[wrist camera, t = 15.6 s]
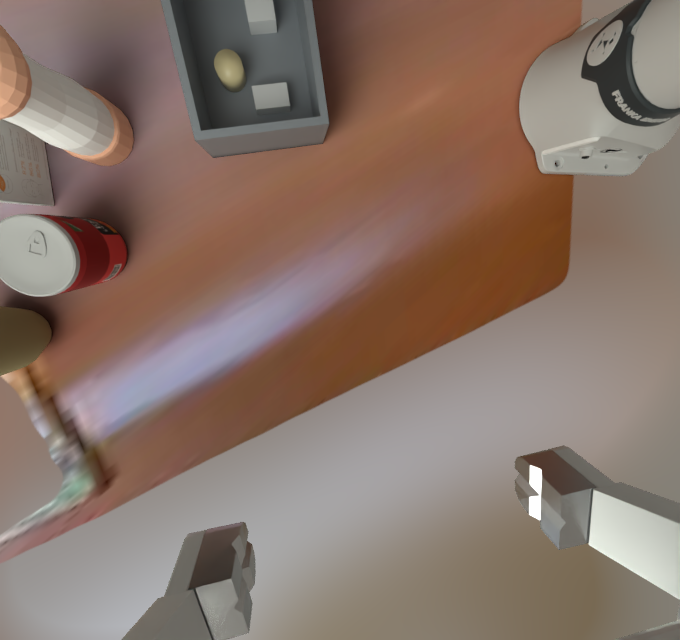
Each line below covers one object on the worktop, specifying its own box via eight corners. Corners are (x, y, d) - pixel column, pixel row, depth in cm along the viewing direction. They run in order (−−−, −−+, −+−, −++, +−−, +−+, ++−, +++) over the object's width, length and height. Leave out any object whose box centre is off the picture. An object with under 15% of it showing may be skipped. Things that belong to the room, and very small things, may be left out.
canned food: (125, 219, 41) (68, 215, 31) (133, 282, 43) (82, 298, 33) (58, 217, 40) (-24, 211, 30) (69, 281, 42) (-5, 297, 32)
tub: (293, -51, 37) (294, -125, 29) (322, 143, 42) (329, 123, 35) (166, -42, 36) (132, -117, 28) (213, 157, 41) (194, 140, 33)
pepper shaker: (56, 101, 37) (-171, -27, 19) (123, 95, 38) (-35, -34, 20) (78, 169, 39) (-108, 113, 21) (141, 162, 40) (14, 102, 22)
